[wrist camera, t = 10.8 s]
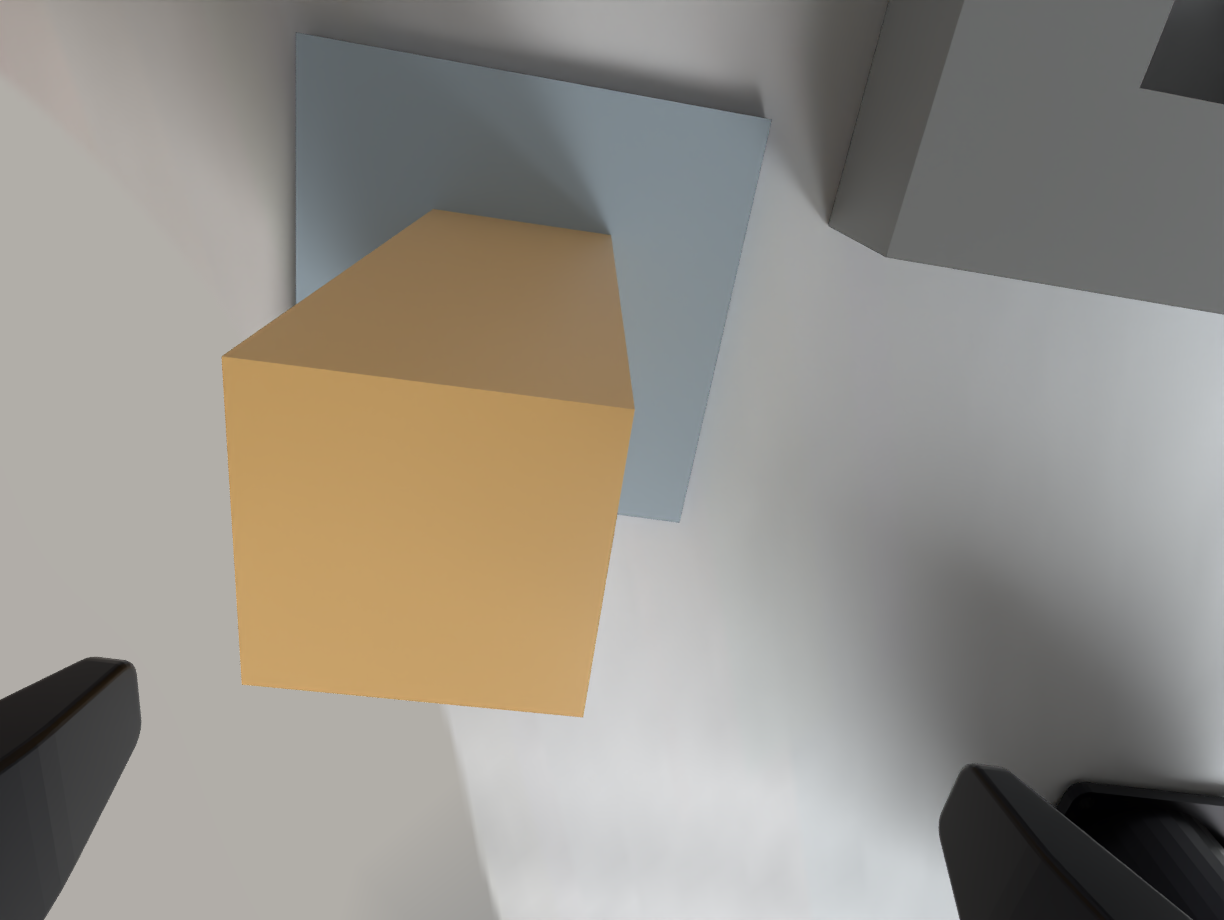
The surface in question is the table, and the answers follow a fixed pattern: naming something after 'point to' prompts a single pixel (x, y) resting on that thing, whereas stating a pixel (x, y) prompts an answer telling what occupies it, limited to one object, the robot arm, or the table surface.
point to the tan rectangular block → (434, 469)
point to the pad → (542, 205)
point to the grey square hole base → (1037, 151)
